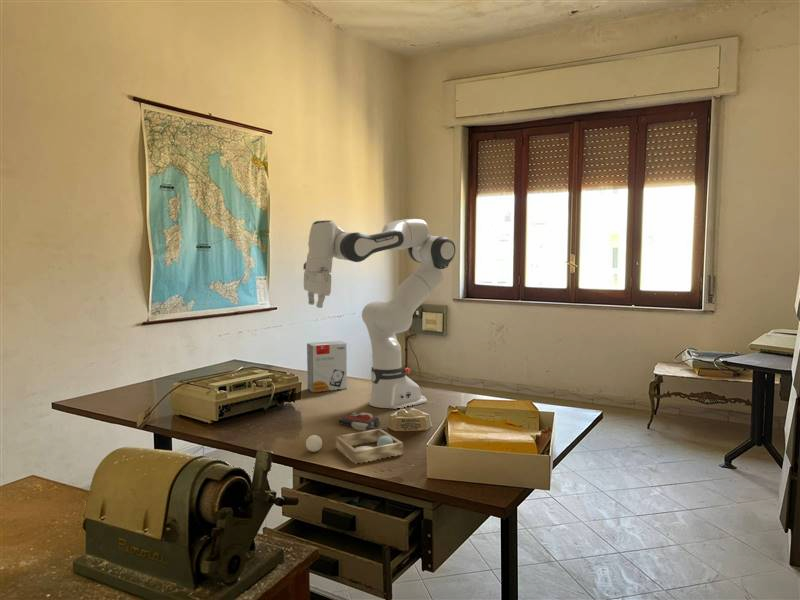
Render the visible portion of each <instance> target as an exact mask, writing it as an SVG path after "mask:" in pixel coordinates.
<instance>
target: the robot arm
mask: <svg viewBox="0 0 800 600" xmlns="http://www.w3.org/2000/svg"><path fill="white" fill-rule="evenodd" d="M429 227H430V226H429V225H428V224H427V222H426V221H425V220H423V219H421V218H405V219H399V220H394V221H391V222H388V223H387V224H385V225H384V226H383V228H382V231H381V232H378V233H373V234H366V233H363V232H360V231H359V232H358V231H357V232H346V231H345V230H343V229H342V228H340V227H339V226H338V225H337V224H336V223H335V222H334V220H316V221H314V222H313V223H312V224H311V227H310V230H309V236H308V243H307V244H308V245H307V246H308V252H307V255H306V260H305V262H304V263H303V265H302V266H303V271H304V272H303V290H304V291H306V292H307V297H308V301H307V302H308V303H307V304H308V305H316V308H318V309H322V308H323V305H324V301H325V299H326V296H330V295H331V292H332V275H331V273H332V269H333V259H334V258H335V259H338V260H343V261H350V262H352V263H353V262H355V263H361V262H363V261H365V260H366V259H367V258H369V257H370V256H371V255H374V254H376V253H378V252H379V253H380V252H382V251H386V250H390V251H398V250H399V251H400V250H406V249H407V253H408V255H409V257H410V259H412V260H413V261H414V262H416V263H420V264H419V266H418V268H417V269H416V270H415V271H414V272H413V273H411V275H409V276H407V278H406V279H405V280H404V281H402V283H400V284H399V285H398V286H397V288H396V293H395V295H394V296H393V298H392V299H391V300H389V301H386V302H385V301H378V300H377V301H373V302H369V303H367V304H366V305H364V306H363V308H362V312H361V317H362V318H361V319H362V321H363V323H364V324H365V326H366V328H367V332H368V335H369V336H368V337H369V339H370V345H371V353H372V354H371V355H372V357H371V358H372V361H371V362H372V366H371V371H370V372H371V392H370V398H369V400H368V401H369V402H368V405H370V406H372V407H375V408H380V409H394V410H398V409H397V408H400V409H405V408H408V407H407V406H409V407H412V405H413V406H417V405H420V404H425V403H427V402H428V399H427V397H426V396H425V395H422V393H421V392H422V391H421V389H420V386H419V384H417V383H416V381H414V380H412V379H411V378H409V376H407V375H406V374H410V373H411V368H409V367H404V366H402V347H401V344H400V343H399V340H398V338H397V336H396V334H400V333H404V332H406V331H408V330H409V329H410V328H411V326H412V325H413V315H414V314H415V312H416V310H417V309H418V308H419V307H420V306H421V305H422V304H423V303H424V302H425V301H426V300H427V299H428V298H429V297H430V296H431V295H432V294H434V292H435V291H436V290H437V288H438V287H439V286H440V285H441V283H442V281H443V280H444V277H445V276H444V271H443V270H444V269H447V268H448V266H449V264H451V262H452V261H453V259H454V257H455V255H456V244H455V243H454V241H453V240H452V239H451V238H448V237H446V236H439V235H431V234H430V228H429ZM315 294H316V295H317V301H315ZM315 302H316V304H315ZM404 407H405V408H404ZM400 409H399V410H400Z"/></svg>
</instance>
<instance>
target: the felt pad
mask: <svg viewBox="0 0 800 600" xmlns="http://www.w3.org/2000/svg"><path fill="white" fill-rule="evenodd" d="M372 447H373V446H368V445H363V446H356V447H355V449H356V450H362V449H367V448H372Z"/></svg>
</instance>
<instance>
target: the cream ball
mask: <svg viewBox="0 0 800 600" xmlns="http://www.w3.org/2000/svg"><path fill="white" fill-rule="evenodd" d="M322 446H323V440H322V438H321V437H320V436H319V435H317V434H313V435H312V434H311V435H310V436H308V438H306V440H305V447H306V449H307V450H308V451H310V452H313V453H315V452H318V451H319V450H320V449H321V448H322Z"/></svg>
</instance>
